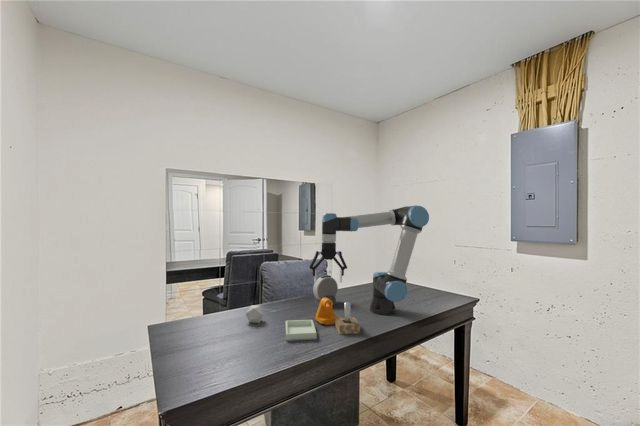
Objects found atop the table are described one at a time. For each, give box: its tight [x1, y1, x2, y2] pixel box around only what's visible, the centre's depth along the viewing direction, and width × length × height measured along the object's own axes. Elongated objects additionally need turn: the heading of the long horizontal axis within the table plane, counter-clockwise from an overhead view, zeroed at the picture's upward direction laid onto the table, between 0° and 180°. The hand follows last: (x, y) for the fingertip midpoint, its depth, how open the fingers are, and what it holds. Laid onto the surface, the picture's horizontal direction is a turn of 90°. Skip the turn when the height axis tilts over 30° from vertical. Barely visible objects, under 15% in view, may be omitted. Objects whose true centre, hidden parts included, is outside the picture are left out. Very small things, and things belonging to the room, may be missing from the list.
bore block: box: [334, 316, 361, 335], centre depth 136 cm, size 10×10×4 cm
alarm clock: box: [312, 274, 339, 307], centre depth 177 cm, size 16×10×18 cm, turn 122°
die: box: [245, 304, 265, 324], centre depth 144 cm, size 8×9×10 cm
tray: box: [284, 319, 318, 342], centre depth 131 cm, size 14×16×3 cm
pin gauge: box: [343, 301, 352, 323], centre depth 136 cm, size 3×3×13 cm
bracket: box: [314, 297, 340, 326], centre depth 146 cm, size 11×7×12 cm, turn 119°
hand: (328, 282), depth 146 cm, fingers open, 13 cm apart
